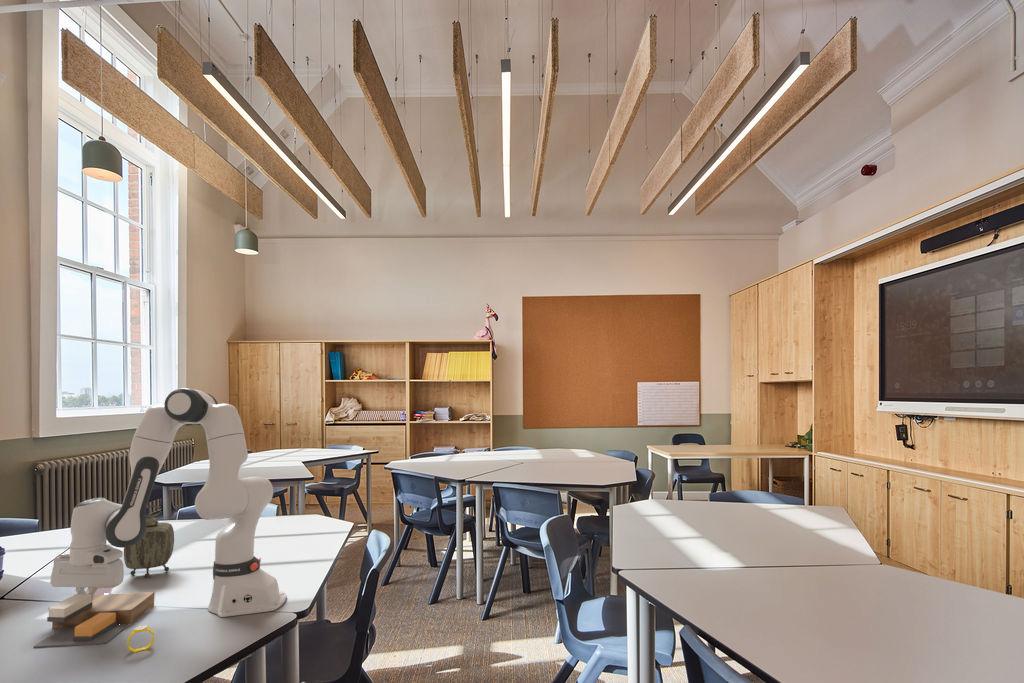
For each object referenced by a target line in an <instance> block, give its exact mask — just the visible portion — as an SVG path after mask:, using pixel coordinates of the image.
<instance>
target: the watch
mask: <svg viewBox="0 0 1024 683" xmlns="http://www.w3.org/2000/svg"><path fill="white" fill-rule="evenodd" d="M145 631H146V632H149V633H150V634H151V635H152V637H151V638H152V639H151V641H150V643H149V644H148V645H146V646H144V647H140V648H133V647H131V645H130V640H131V638H132V637H133V636H134V635H135V634H137V633H142V632H145ZM154 641H155V633H154V631H153V629H152V628H149V627H148V626H147V625H144V624H143V625H139V626H136V627H134V630H133V631H131V632H130V634H129V636H128V637H127V640H126V646H127V649H128V651H131V652H132V653H134V654H135V653H138V652H143V651H146V650H149V649H150V648H151V647H152V645H153V644H154Z"/></svg>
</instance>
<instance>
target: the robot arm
mask: <svg viewBox="0 0 1024 683" xmlns="http://www.w3.org/2000/svg"><path fill="white" fill-rule="evenodd" d="M184 425H185V426H187V427H188V426H200V425H201V426H202V427H203V429H204V432H205V440H206V446H207V451H208V453H207V454H208V459H209V470H208V475H207V478H206V481H205V483H204V485H203V487H202V488H201V489H200V490H199V491H198V493H197V495H196V497H195V500H194V508H195V511H196V513H197V515H198V516H199V517H200V518H201V519H202V520H206V521H210V520H211V521H215V520H216V521H217V520H223V519H227V518H228V520H227V521H226V523H225V525H224V526H223V527H222V528H221V529H220V530H219V532H218V533H217V535H216V537H215V548H214V550H215V551H214V553H215V554H214V561H213V565H212V578H213V585H212V592H211V596H210V601H209V604H208V607H207V610H208V611H209V612H210V613H212V614H216V615H217V616H218V617H219V618H224V617H225V618H226V617H227V618H228V617H233V616H241V615H250V614H258V613H267V612H272V611H273V612H274V611H275V610H277V609H279V608H280V607H282V605H283V604H284V603H285V602H286V600H287V594H286V592H285V591H280V588H279V583H278V579H277V578H276V577H274V576H272V575H271V574H269V573H268V572H266V571H265V570H264V569H262V568H261V562H262V557H259V558H257V557H256V556H255V554H254V553H255V552H254V550H255V539H256V538H255V535H256V529H257V526H258V523H259V520H260V518H261V516H262V513H263V512H264V510H265V508H266V507H267V506H268V505H269V503H270V502H271V501H272V499H273V496H274V487H273V483H272V482H271V481H270V479H268V478H266V476H265V477H263V476H247V477H243V478H239V471H240V468H241V466H242V465H244V464H245V463H246V461H247V460H248V455H249V453H248V447H247V442H246V436H245V431H244V427H243V423H242V419H241V416H240V414H239V412H238V409H237V407H235V405H233V404H230V403H218V401H217V399H216V398H215V397H214V396H213V395H211V394H210V393H207V392H204V391H203V390H200V389H195V388H190V387H182V388H181V387H180V388H176V389H175V390H173V391H171V392H170V393H168V395H167V396H166V397H165V400H164V404H154V405H151V406H149V407H148V408H147V409H146V410H145V412H144V414H143V415H142V418H141V419H140V421H139V423H138V425H137V428H136V430H135V432H134V435H133V437H132V441H131V444H130V447H129V450H130V451H129V457H128V459H129V464H130V477H129V478H130V479H129V483H128V486H127V489H126V493H125V495H124V498H123V501H122V504H121V503H116V502H114V501H110V500H108V499H106V498H105V497H93V498H90V499H89V498H88V499H86V500H84V501H80V502H79V503H78V504H76V506H74V508H73V510H72V514H71V521H70V534H71V542H70V545H69V553H67V554H66V553H60V554H58V555H57V556H56V557H55V558H54V559H53V567H52V571H51V576H50V584H51V587H53V588H75V592H76V594H86V591H85V589H86V588H88V591H89V593H88V594H91V601H93V595H94V593H95V592H96V590H97V589H98V588H113V589H114V588H117V587H118V586H120V585H121V584H122V583H123V581H124V578H125V574H124V572H125V569H124V563H123V561H122V559H121V558H123V556H124V551H123V550H121V548H123V549H124V547H129V546H132V545H134V544H136V543H138V542H139V541H140V540H141V539H142V538H143V536H144V535H145V533H146V528H147V525H146V519H147V518H146V517H145V516H146V511H147V508H146V507H147V506H148V504H149V500H150V497H151V494H152V491H153V488H154V484H155V482H156V479H157V478H158V475H159V473H160V471H161V469H162V467H163V465H164V464H165V461H166V460H167V458H168V456H169V453H170V452H171V449H172V446H173V443H174V441H175V437H176V435H177V432H178V430H179V429H180V428H181V427H182V426H184ZM107 542H108V543H109V544H110V545H111V546H110V545H108V544H107ZM118 548H120V549H118Z"/></svg>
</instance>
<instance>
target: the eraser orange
mask: <svg viewBox="0 0 1024 683" xmlns="http://www.w3.org/2000/svg"><path fill="white" fill-rule="evenodd" d="M116 625H117V621H116V613H99V614H97V615H95V616H94V617H92V618H90V619H88V620H87V621H85V622H83V623H81V624H80V625H78V626H76V627H75V636H74V637H73V641H92V640H94V639H96V638H97V637H99V636H100V635H102V634H104V633H105V632H107V631H108V630H110V629H112V628H113V627H115V626H116Z"/></svg>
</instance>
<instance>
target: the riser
mask: <svg viewBox="0 0 1024 683" xmlns="http://www.w3.org/2000/svg"><path fill="white" fill-rule="evenodd" d="M155 595H156V594H155V591H147V592H146V591H145V592H126V593H111V594H101V595H93V601H91V602H92V607H90V608H88V609H87V610H85V611H83V612H81V613H80V614H78V615H76V616H74V617H73V618H71V619H69V620H67V621H65V622H51V623H52V625H51V628H52V629H58V628H59V629H60V628H64V627H76V626H78V625H80V624H81V623H83V622H85V621H87V620H88V619H90V618H92V617H94V616H95V615H97V614H99V613H116V621H117V625H119V624H129V625H131V624H133V623H132V622H133V621H134V622H135V621H136V620H138V619H139V618H140V617H141V616H143V615H144V614H145V613H146V612H148V611H149V610H150V609H151V608H153V607H154V605H155Z"/></svg>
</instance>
